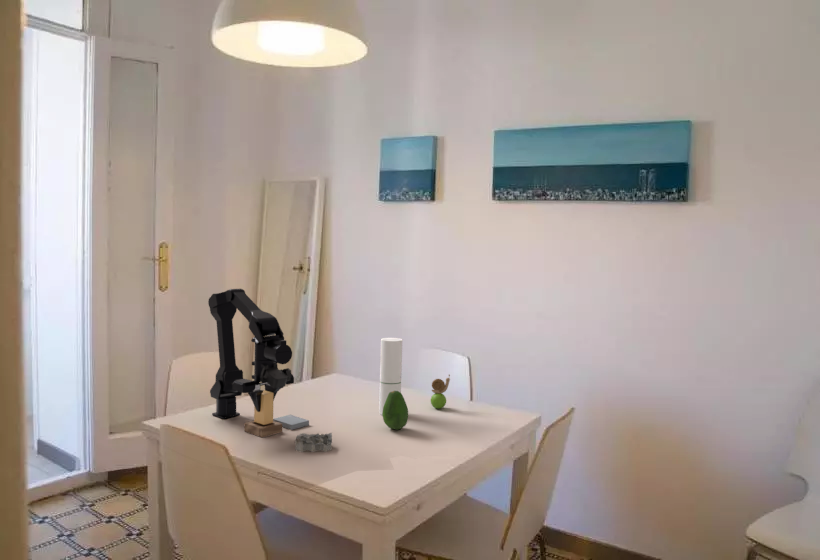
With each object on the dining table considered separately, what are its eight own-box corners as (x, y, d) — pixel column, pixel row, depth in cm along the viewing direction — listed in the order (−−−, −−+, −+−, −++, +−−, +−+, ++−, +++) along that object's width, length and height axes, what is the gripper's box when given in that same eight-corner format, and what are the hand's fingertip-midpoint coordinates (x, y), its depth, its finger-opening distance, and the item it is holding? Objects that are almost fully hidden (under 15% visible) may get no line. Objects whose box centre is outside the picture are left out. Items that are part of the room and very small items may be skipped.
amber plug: (254, 421, 200) (254, 392, 199) (263, 419, 202) (264, 390, 202) (263, 424, 197) (263, 394, 196) (273, 422, 200) (273, 392, 199)
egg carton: (293, 452, 183) (293, 438, 183) (296, 444, 190) (296, 430, 190) (331, 453, 184) (331, 438, 183) (332, 444, 191) (333, 430, 191)
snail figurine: (449, 410, 229) (450, 376, 228) (430, 410, 229) (431, 375, 228) (448, 406, 234) (449, 372, 233) (430, 406, 234) (431, 372, 233)
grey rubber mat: (272, 423, 208) (272, 418, 208) (290, 419, 213) (290, 414, 213) (291, 429, 202) (291, 425, 202) (308, 425, 208) (309, 420, 208)
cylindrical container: (401, 410, 227) (403, 338, 225) (398, 416, 220) (401, 341, 218) (380, 409, 227) (382, 337, 225) (377, 415, 220) (379, 340, 218)
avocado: (391, 424, 211) (392, 386, 211) (412, 428, 207) (413, 390, 207) (377, 430, 205) (378, 391, 204) (398, 434, 201) (399, 395, 200)
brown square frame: (244, 431, 200) (244, 422, 200) (264, 425, 205) (264, 417, 205) (261, 437, 194) (262, 429, 194) (282, 431, 200) (282, 423, 200)
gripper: (255, 367, 186) (254, 422, 187) (306, 358, 200) (305, 409, 201) (231, 361, 193) (231, 414, 194) (282, 353, 207) (281, 402, 208)
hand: (263, 410), depth 199 cm, fingers closed on amber plug, 3 cm apart
